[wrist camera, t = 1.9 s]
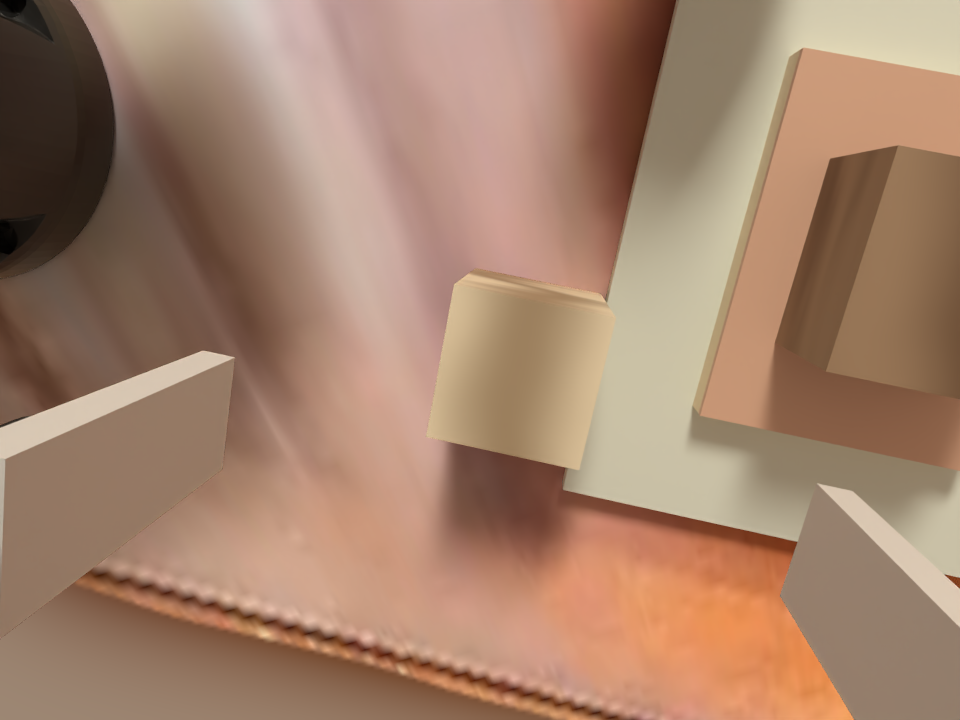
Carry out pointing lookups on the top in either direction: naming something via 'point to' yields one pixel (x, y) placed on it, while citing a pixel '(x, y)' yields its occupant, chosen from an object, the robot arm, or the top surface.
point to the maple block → (521, 367)
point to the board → (768, 274)
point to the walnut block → (882, 272)
